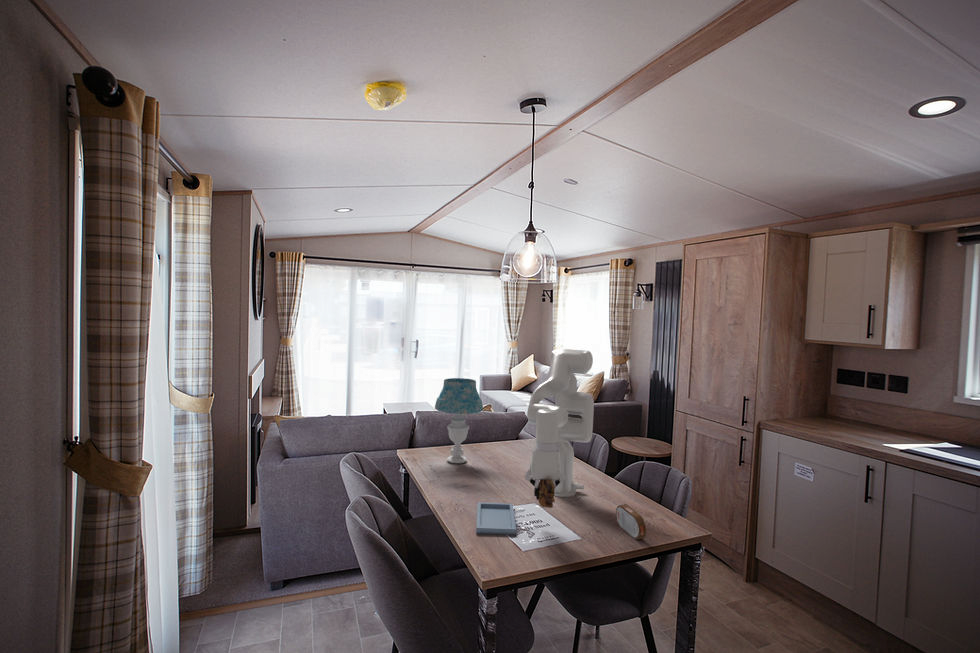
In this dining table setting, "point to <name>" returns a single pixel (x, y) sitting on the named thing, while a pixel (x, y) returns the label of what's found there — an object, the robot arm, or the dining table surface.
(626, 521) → the tin
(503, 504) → the tray
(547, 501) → the wooden carving
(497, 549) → the dining table surface
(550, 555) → the dining table surface
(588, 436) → the robot arm
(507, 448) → the dining table surface
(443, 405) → the table lamp
